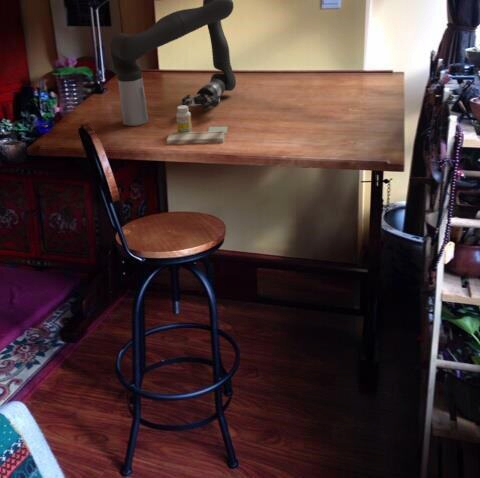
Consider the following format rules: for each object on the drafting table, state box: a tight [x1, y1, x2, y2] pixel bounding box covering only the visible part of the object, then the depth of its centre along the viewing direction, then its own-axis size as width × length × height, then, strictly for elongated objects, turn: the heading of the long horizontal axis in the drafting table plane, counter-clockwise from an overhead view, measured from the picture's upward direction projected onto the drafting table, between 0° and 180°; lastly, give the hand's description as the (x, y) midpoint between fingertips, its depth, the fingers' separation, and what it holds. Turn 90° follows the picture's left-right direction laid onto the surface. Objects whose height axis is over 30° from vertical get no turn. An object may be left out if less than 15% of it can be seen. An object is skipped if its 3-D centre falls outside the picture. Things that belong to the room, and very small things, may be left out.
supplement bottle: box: [175, 105, 193, 133], centre depth 229 cm, size 5×5×10 cm
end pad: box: [207, 125, 229, 135], centre depth 230 cm, size 7×7×1 cm
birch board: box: [166, 131, 226, 145], centre depth 223 cm, size 20×7×2 cm, turn 86°
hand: (194, 107), depth 236 cm, fingers open, 8 cm apart
